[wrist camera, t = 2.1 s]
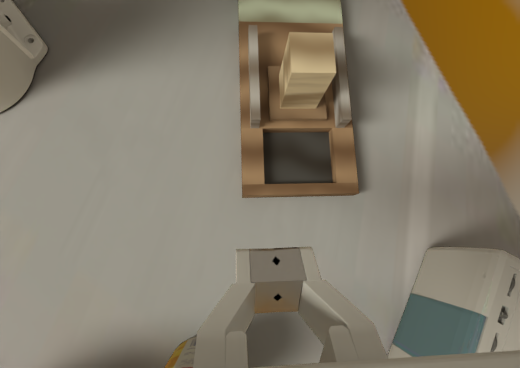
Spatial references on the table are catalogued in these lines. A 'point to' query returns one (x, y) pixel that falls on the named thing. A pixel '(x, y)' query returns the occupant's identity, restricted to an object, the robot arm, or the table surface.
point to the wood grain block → (302, 78)
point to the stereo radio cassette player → (461, 304)
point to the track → (292, 132)
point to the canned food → (183, 355)
